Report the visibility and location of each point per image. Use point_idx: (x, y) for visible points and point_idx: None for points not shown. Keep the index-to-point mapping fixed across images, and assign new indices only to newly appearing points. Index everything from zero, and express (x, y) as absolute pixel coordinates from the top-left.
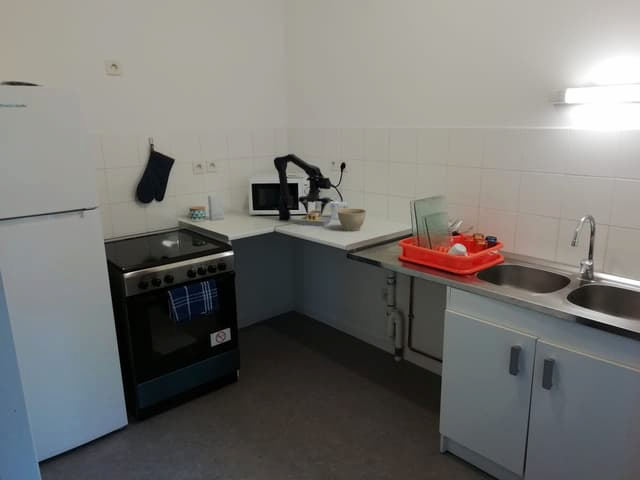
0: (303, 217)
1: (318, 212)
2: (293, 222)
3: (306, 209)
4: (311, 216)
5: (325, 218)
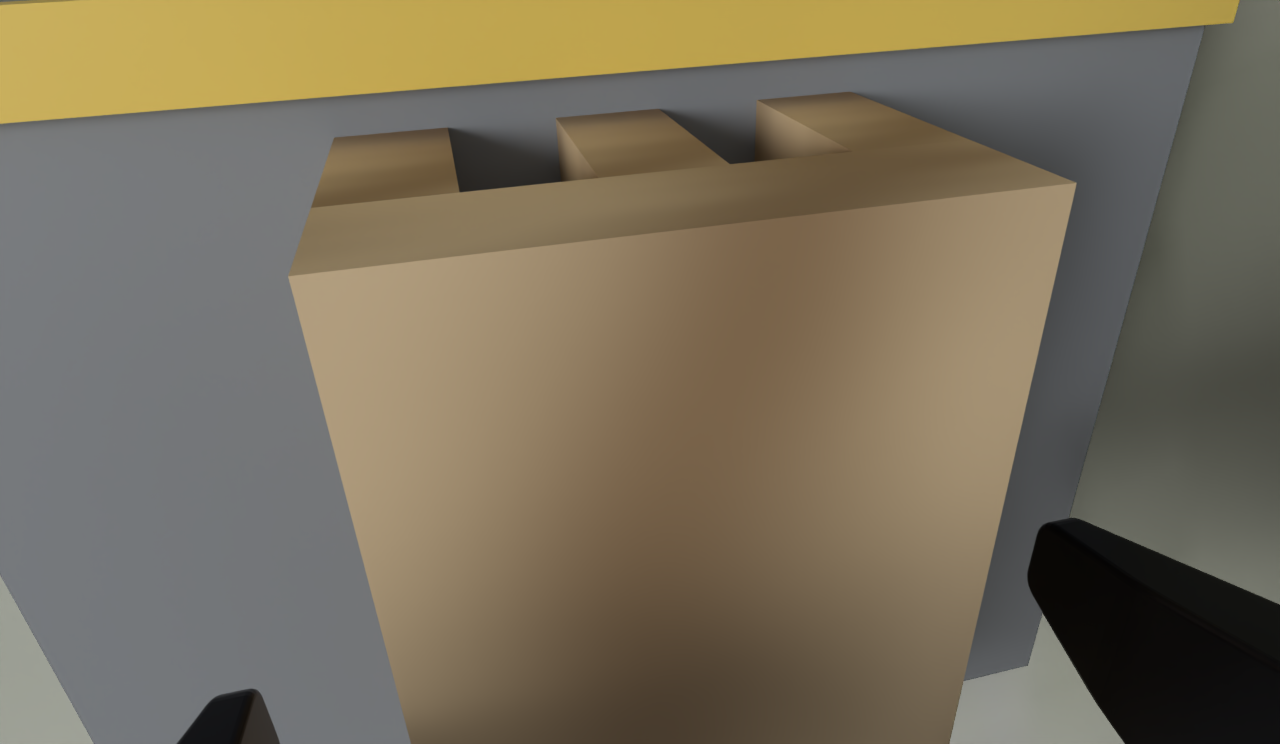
0: (1067, 450)
1: (438, 740)
2: (1243, 217)
3: (1259, 638)
4: (662, 164)
5: (201, 680)
